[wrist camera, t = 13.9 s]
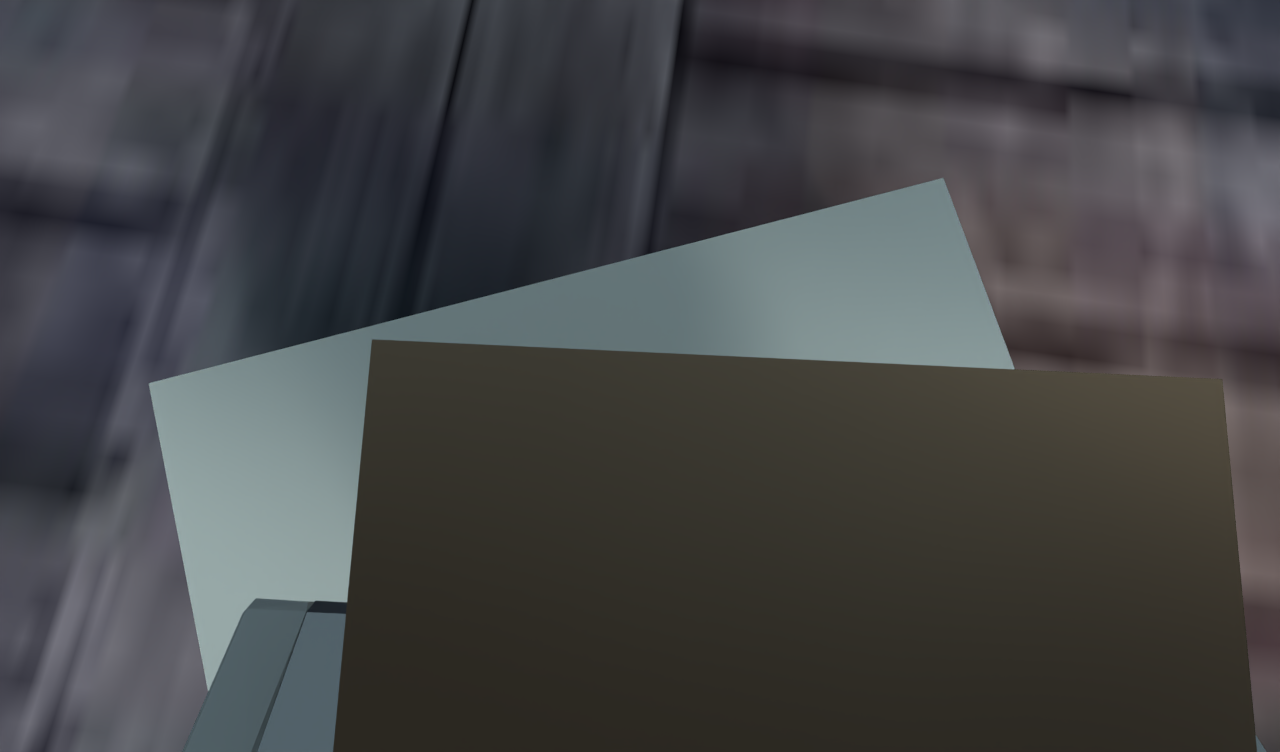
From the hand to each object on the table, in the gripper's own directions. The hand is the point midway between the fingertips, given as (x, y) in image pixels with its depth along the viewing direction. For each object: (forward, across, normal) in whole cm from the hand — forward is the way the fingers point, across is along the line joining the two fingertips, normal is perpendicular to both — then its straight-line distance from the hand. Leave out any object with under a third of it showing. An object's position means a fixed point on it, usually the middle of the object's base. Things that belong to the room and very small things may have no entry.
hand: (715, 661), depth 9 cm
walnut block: (+3, 0, +3) cm, 4 cm away
